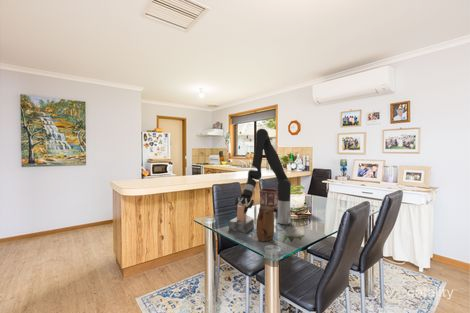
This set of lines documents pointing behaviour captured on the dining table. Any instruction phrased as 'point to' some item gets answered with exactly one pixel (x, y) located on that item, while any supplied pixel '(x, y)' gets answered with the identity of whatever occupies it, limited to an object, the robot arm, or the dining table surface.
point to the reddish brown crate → (269, 198)
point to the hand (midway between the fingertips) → (240, 211)
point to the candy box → (308, 202)
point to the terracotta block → (241, 213)
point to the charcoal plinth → (241, 225)
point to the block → (265, 223)
